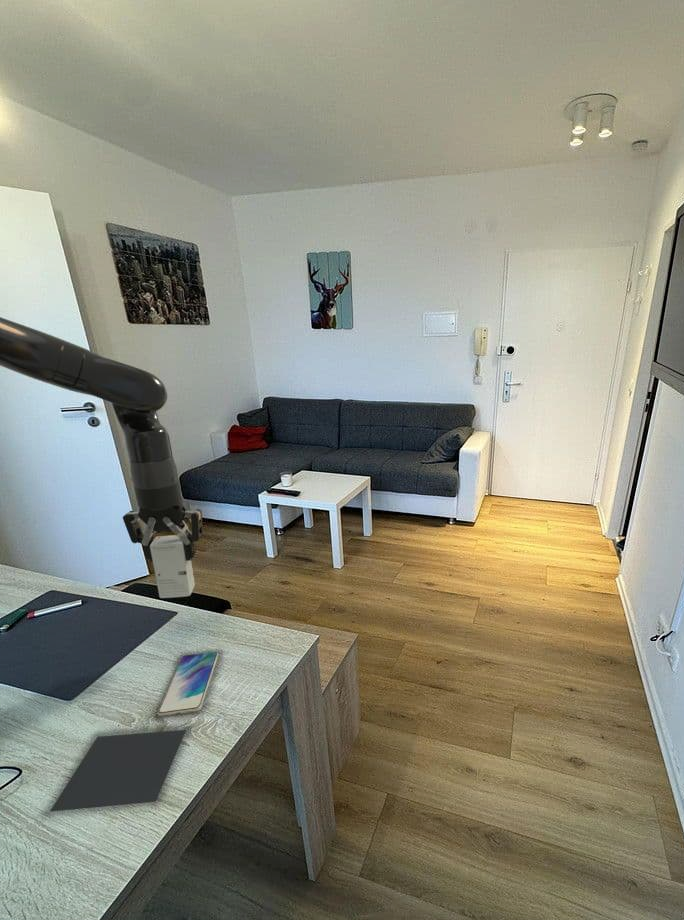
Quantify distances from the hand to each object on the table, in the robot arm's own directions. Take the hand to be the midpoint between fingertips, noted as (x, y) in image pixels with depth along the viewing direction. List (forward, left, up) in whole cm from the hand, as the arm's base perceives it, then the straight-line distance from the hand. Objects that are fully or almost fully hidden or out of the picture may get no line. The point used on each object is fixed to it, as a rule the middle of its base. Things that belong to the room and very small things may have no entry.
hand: (172, 559), depth 87 cm
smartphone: (+5, -14, -20) cm, 25 cm away
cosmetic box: (0, 0, -8) cm, 8 cm away
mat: (+1, -31, -20) cm, 37 cm away
